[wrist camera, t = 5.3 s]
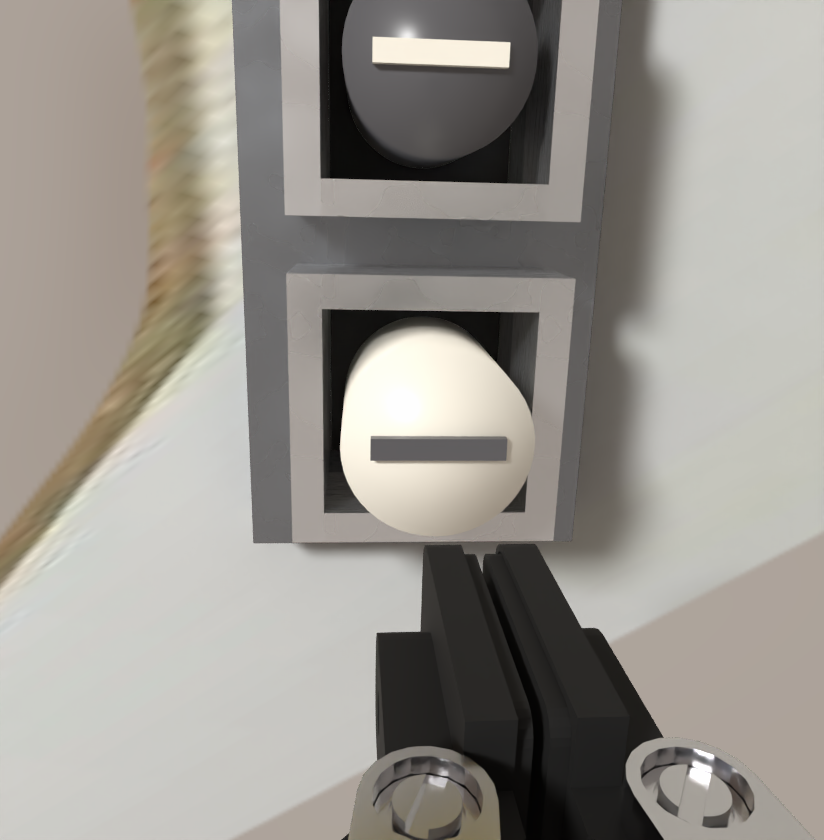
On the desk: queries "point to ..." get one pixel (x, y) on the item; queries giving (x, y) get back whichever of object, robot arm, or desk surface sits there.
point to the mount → (415, 263)
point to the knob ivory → (433, 429)
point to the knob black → (437, 74)
